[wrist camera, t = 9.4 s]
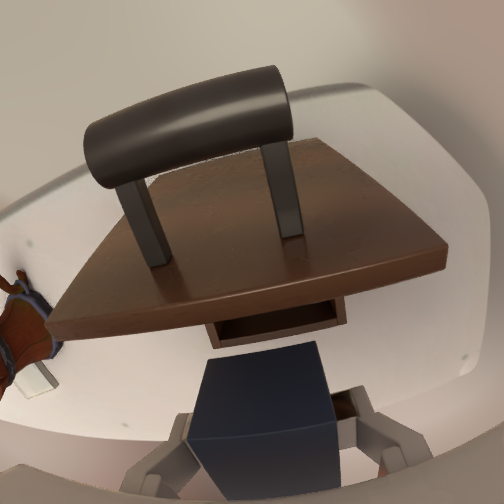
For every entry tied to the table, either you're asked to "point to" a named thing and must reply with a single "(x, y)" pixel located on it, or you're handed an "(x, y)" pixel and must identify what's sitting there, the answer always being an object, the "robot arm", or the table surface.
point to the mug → (23, 330)
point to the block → (267, 424)
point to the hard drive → (34, 380)
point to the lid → (231, 216)
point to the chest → (277, 324)
